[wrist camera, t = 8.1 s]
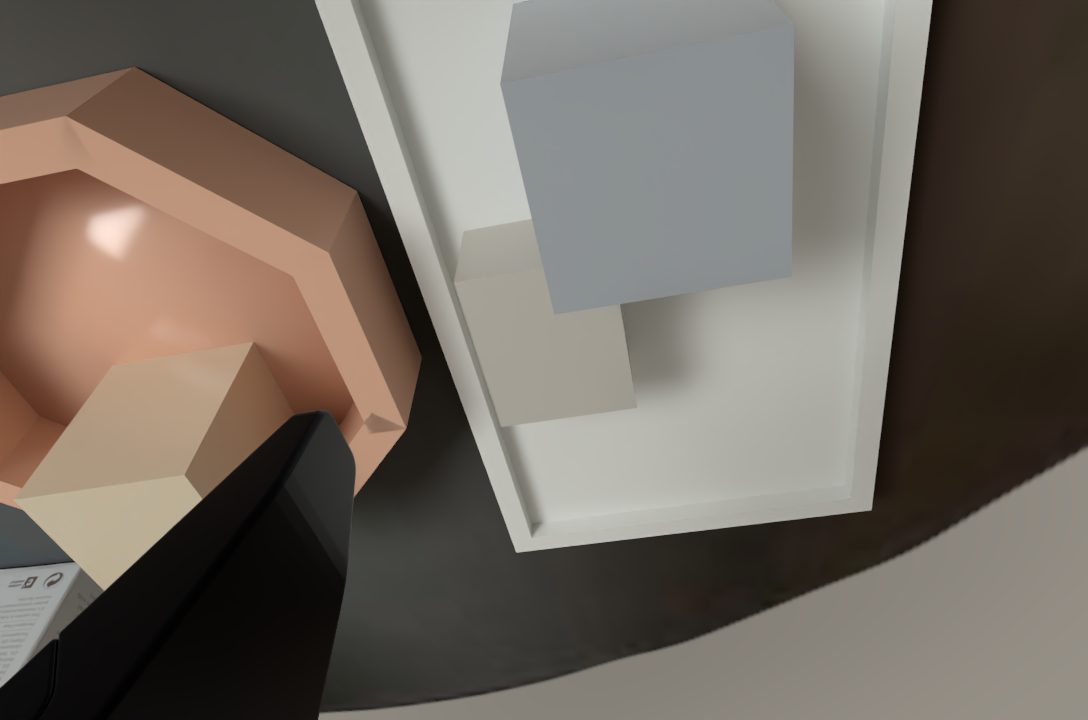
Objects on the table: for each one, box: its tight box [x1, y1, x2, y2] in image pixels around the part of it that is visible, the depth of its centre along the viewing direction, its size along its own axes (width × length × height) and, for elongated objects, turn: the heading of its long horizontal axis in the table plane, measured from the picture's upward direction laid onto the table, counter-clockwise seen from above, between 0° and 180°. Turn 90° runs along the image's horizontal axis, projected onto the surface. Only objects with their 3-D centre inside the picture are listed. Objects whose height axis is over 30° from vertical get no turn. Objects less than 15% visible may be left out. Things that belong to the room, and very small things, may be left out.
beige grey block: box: [454, 219, 637, 427], centre depth 19 cm, size 4×5×2 cm
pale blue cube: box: [500, 0, 795, 315], centre depth 14 cm, size 4×4×5 cm
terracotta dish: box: [0, 67, 422, 510], centre depth 19 cm, size 13×13×3 cm
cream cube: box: [14, 342, 295, 591], centre depth 20 cm, size 4×4×5 cm
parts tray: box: [315, 0, 933, 553], centre depth 19 cm, size 12×20×1 cm, turn 11°
